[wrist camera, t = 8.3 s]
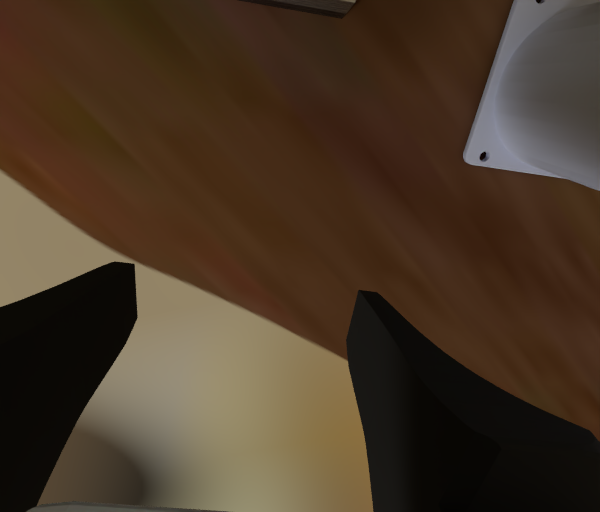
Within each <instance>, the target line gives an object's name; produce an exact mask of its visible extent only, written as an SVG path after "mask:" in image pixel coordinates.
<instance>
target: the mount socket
mask: <svg viewBox="0 0 600 512" xmlns="http://www.w3.org/2000/svg"><path fill="white" fill-rule="evenodd" d="M239 1H245V2H251V3H256V4H262V5H268V6H274V7H279V8H285V9H291V10H296V11H302V12H308V13H313V14H319V15H325V16H331V17H336V18H343V17H344V16H345V14H346V13H347V12H348V11H349V10H350V8H351V7H352V6H353V5H354V4H355V1H356V0H239Z"/></svg>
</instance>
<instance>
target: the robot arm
mask: <svg viewBox="0 0 600 512" xmlns="http://www.w3.org/2000/svg"><path fill="white" fill-rule="evenodd" d="M483 152H486V157H485V158H484V159H483V160H480V159H479V158H480V155H481V153H483ZM463 158H464V160H465V162H467V163H469V164H471V165H477V166H484V167H491V168H497V169H504V170H511V171H518V172H524V173H531V174H538V175H545V176H552V177H558V178H565V179H569V180H572V181H574V182H577V183H580V184H582V185H585V186H588V187H590V188H593V189H596V190H598V191H600V0H541V2H540V3H539V4H538V3H537V2H536V0H514V1H513V5H512V8H511V11H510V14H509V17H508V20H507V23H506V26H505V29H504V32H503V35H502V38H501V41H500V44H499V47H498V50H497V53H496V56H495V59H494V62H493V65H492V68H491V71H490V74H489V77H488V80H487V83H486V86H485V89H484V92H483V95H482V98H481V101H480V104H479V107H478V111H477V114H476V117H475V120H474V123H473V126H472V129H471V132H470V135H469V138H468V141H467V144H466V147H465V150H464V153H463ZM136 320H137V302H136V284H135V265H134V264H131V263H123V262H112V263H109V264H106V265H103V266H101V267H98V268H96V269H94V270H92V271H89V272H87V273H85V274H83V275H80V276H78V277H76V278H73V279H71V280H69V281H67V282H64V283H62V284H60V285H57V286H55V287H52V288H50V289H47V290H45V291H42V292H40V293H37V294H35V295H32V296H30V297H27V298H25V299H22V300H20V301H17V302H14V303H11V304H8V305H6V306H3V307H0V512H226V511H210V510H196V509H181V508H180V509H179V508H166V507H150V506H137V505H120V504H107V503H92V502H76V501H73V502H62V503H52V504H42V505H39V506H37V503H38V501H39V499H40V497H41V494H42V492H43V490H44V488H45V486H46V483H47V481H48V479H49V477H50V475H51V473H52V471H53V469H54V467H55V465H56V462H57V460H58V458H59V456H60V454H61V452H62V450H63V448H64V446H65V444H66V442H67V440H68V438H69V436H70V434H71V432H72V430H73V428H74V426H75V424H76V422H77V420H78V419H79V417H80V415H81V413H82V412H83V410H84V408H85V406H86V405H87V403H88V402H89V400H90V398H91V397H92V395H93V394H94V392H95V391H96V389H97V388H98V386H99V385H100V383H101V381H102V380H103V378H104V377H105V375H106V374H107V372H108V371H109V369H110V368H111V366H112V365H113V363H114V361H115V360H116V358H117V357H118V355H119V353H120V352H121V350H122V349H123V347H124V345H125V344H126V342H127V340H128V338H129V336H130V333H131V331H132V329H133V327H134V324H135V322H136ZM346 342H347V355H348V364H349V370H350V374H351V378H352V383H353V388H354V392H355V396H356V400H357V405H358V409H359V413H360V417H361V422H362V426H363V431H364V436H365V442H366V449H367V457H368V464H369V473H370V482H371V492H372V501H373V511H374V512H600V442H599V441H598V440H597V439H596V437H595V436H594V435H593V434H592V433H591V432H590V431H589V430H587V429H585V428H583V427H580V426H578V425H576V424H573V423H571V422H569V421H566V420H564V419H562V418H559V417H557V416H555V415H553V414H550V413H548V412H546V411H543V410H541V409H539V408H537V407H535V406H533V405H531V404H529V403H527V402H525V401H523V400H521V399H519V398H517V397H515V396H513V395H511V394H510V393H508V392H506V391H504V390H502V389H500V388H499V387H497V386H495V385H494V384H492V383H490V382H489V381H487V380H485V379H484V378H482V377H480V376H478V375H477V374H475V373H474V372H472V371H471V370H469V369H467V368H466V367H464V366H463V365H462V364H460V363H459V362H457V361H456V360H455V359H453V358H452V357H450V356H449V355H447V354H446V353H445V352H443V351H442V350H441V349H440V348H438V347H437V346H436V345H435V344H433V343H432V342H431V341H430V340H429V339H427V338H426V337H425V336H424V335H423V334H421V333H420V332H419V331H418V330H417V329H416V328H415V327H414V326H412V325H411V324H410V323H409V322H408V321H407V320H406V319H405V318H404V317H403V316H402V315H401V314H400V313H399V312H398V311H397V310H396V309H395V308H393V307H392V306H391V305H390V304H389V303H388V302H387V301H386V300H385V299H384V298H383V297H382V296H381V295H380V294H378V293H377V292H371V291H362V290H359V291H358V295H357V299H356V303H355V307H354V311H353V315H352V319H351V323H350V327H349V331H348V335H347V339H346Z"/></svg>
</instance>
